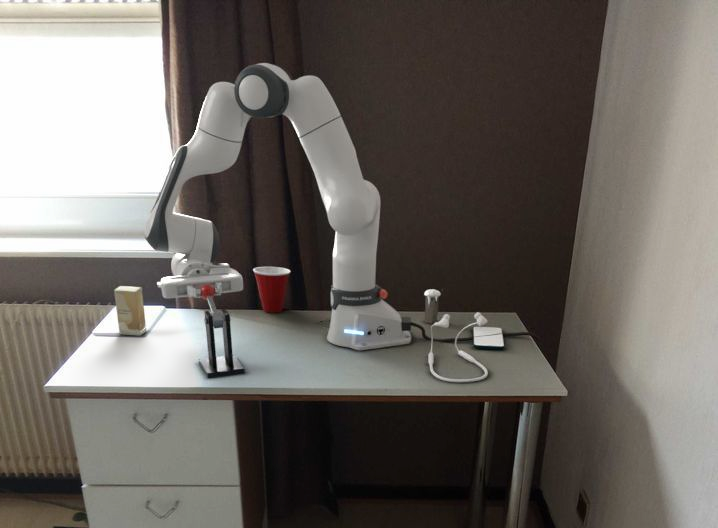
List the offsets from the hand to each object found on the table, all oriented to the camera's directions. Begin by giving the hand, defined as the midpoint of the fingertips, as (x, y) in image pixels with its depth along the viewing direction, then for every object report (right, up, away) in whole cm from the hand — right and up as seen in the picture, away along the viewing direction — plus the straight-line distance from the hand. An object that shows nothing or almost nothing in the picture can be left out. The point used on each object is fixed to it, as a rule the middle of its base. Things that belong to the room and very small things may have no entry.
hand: (208, 293), depth 182 cm
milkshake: (+58, +1, +33) cm, 67 cm away
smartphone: (+71, -7, +20) cm, 74 cm away
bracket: (+3, -18, +2) cm, 18 cm away
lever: (+1, -4, 0) cm, 5 cm away
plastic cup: (+12, +7, +43) cm, 45 cm away
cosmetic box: (-25, -4, +24) cm, 35 cm away
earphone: (+60, -18, +3) cm, 62 cm away
